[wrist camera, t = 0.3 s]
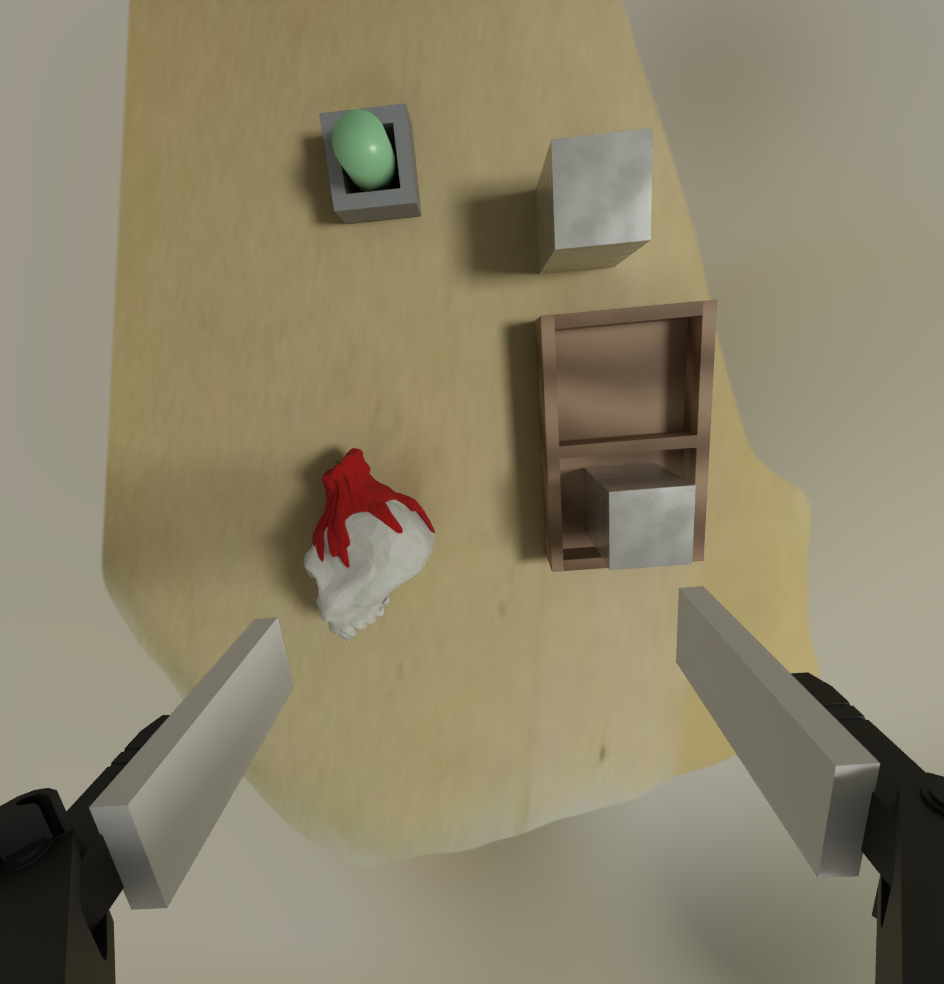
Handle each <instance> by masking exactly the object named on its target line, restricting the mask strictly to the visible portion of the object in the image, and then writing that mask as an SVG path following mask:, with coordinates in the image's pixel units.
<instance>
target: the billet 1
mask: <svg viewBox="0 0 944 984" xmlns="http://www.w3.org/2000/svg"><path fill="white" fill-rule="evenodd" d="M651 189H652V128H650V129H641V130H632V131H623V132H614V133H605V134H596V135H587V136H578V137H569V138H560V139H551V142H550V145H549V149H548V152H547V155H546V158H545V161H544V165H543V168H542V171H541V174H540V177H539V181H538V184H537V187H536V207H537V230H538V253H539V274H547V273H557V272H567V271H577V270H587V269H598V268H608V267H615V266H616V265H618V264H619V263H620V262H622V261H623V260H624V259H626V258H627V257H628V256H630V255H631V254H632V253H634V252H635V251H637V250H638V249H639V248H641V247H642V246H643V245H645V244H646V243H647V242H649V241H650V240H651Z"/></svg>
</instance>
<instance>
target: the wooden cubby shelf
mask: <svg viewBox="0 0 944 984" xmlns="http://www.w3.org/2000/svg"><path fill="white" fill-rule="evenodd" d="M716 311H717V300H708V301H697V302H686V303H676V304H665V305H655V306H644V307H634V308H623V309H613V310H602V311H591V312H581V313H570V314H560V315H549V316H541V317H539V318H538V319H537V320H536V343H537V364H538V385H539V406H540V428H541V449H542V470H543V491H544V512H545V534H546V555H547V558H548V561H549V564H550V567H551V570H552V572H556V571H570V570H584V569H598V568H608V567H607V565H606V563H605V562H604V560H603V559H602V557H601V556H600V554H599V552H598V551H597V549H596V548H595V546H594V544H593V543H592V541H591V540H590V538H589V537H588V535H587V533H586V532H585V488H584V468H585V467H597V466H610V465H622V464H634V463H647V462H655V463H656V464H658V465H660V466H662V467H664V468H665V469H667V470H669V471H671V472H673V473H674V474H676V475H678V476H680V477H682V478H684V479H685V480H687V481H689V482H691V483H693V484H694V485H696V491H695V513H694V535H693V557H692V562H695V561H703V559H704V540H705V521H706V502H707V483H708V464H709V445H710V426H711V407H712V388H713V369H714V350H715V331H716Z"/></svg>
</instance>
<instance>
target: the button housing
mask: <svg viewBox="0 0 944 984" xmlns="http://www.w3.org/2000/svg"><path fill="white" fill-rule="evenodd" d="M361 110H366V111H368V112H370V113H372V114H373V115H375V116H376V117H377V118H378V119H379V121H380V122H381V123H382V125H383V127H384V129H385V132H386V134H387V137H388V139H389V142H390V144H396V152H397V161H398V170H399V179H400V188H399V189H390V190H380V191H371V192H362V193H354V187H353V181H352V180H351V178H350V177H349V175H348V174H347V172H346V171H345V169H344V168H343V167H342V165H341V164H340V162H339V161H338V159H337V157H336V155H335V153H334V150H333V145H332V135H333V130H334V127H335V124H336V123H337V121H338V120H339V118H340V117H341V116H342V115H343V114H345V113H346V112H348V111H351V110H346V111H337V112H329V113H320V120H321V127H322V134H323V140H324V147H325V154H326V160H327V167H328V174H329V181H330V187H331V194H332V201H333V207H334V212H335V213H336V214H337V215H338V216H339V217H340V218H341V219H342V220H343V221H344V222H345V223H346V224H350V223H360V222H369V221H379V220H388V219H398V218H407V217H417V216H421V208H420V198H419V188H418V179H417V169H416V160H415V150H414V140H413V131H412V124H411V121H410V117H409V114H408V110H407V107H406V104H398V105H389V106H381V107H372V108H363V109H361Z"/></svg>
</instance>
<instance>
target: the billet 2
mask: <svg viewBox="0 0 944 984" xmlns="http://www.w3.org/2000/svg"><path fill="white" fill-rule="evenodd" d="M584 488H585V532H586V533H587V535H588V537H589V538H590V540H591V541H592V543H593V544H594V546H595V548H596V549H597V551H598V552H599V554H600V556H601V557H602V559H603V560H604V562H605V563H606V565H607V567H608V568H609V570H616V569H630V568H644V567H658V566H672V565H686V564H692V557H693V535H694V513H695V491H696V485H694V484H693V483H691V482H689V481H687V480H685V479H684V478H682V477H680V476H678V475H676V474H674V473H673V472H671V471H669V470H667V469H665V468H664V467H662V466H660V465H658V464H656V463H655V462H647V463H634V464H622V465H610V466H597V467H585V468H584Z"/></svg>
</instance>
